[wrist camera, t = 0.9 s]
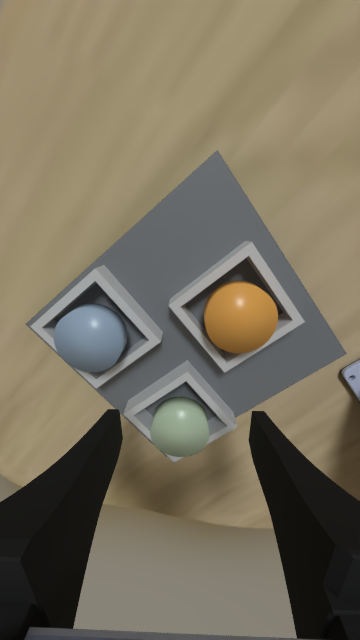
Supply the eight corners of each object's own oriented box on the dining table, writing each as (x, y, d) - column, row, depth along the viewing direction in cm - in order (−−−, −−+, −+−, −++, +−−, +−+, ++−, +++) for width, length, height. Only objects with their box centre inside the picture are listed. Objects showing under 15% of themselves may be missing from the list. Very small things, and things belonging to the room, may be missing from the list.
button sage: (218, 423, 20) (221, 439, 19) (176, 447, 21) (175, 465, 20) (185, 387, 19) (184, 401, 18) (142, 414, 20) (138, 430, 19)
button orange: (281, 318, 17) (291, 327, 15) (228, 353, 18) (231, 365, 16) (245, 266, 16) (252, 270, 14) (190, 307, 17) (190, 315, 15)
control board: (338, 347, 21) (361, 365, 18) (167, 446, 25) (164, 473, 22) (215, 155, 16) (221, 139, 13) (34, 319, 21) (10, 332, 18)
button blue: (140, 338, 18) (135, 348, 16) (96, 370, 19) (88, 383, 17) (96, 290, 17) (86, 296, 15) (52, 327, 18) (39, 337, 16)
